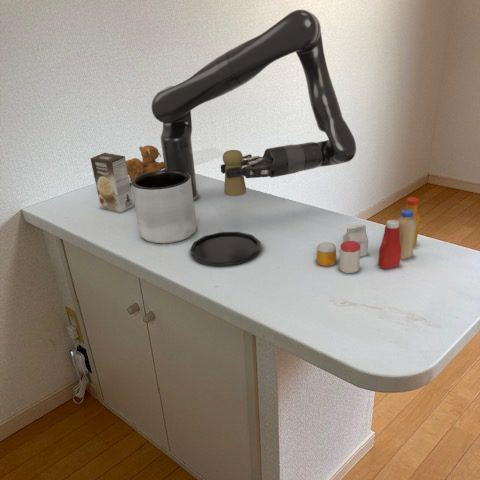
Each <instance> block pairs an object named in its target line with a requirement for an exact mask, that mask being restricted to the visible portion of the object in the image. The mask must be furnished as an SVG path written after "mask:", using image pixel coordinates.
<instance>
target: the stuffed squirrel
mask: <svg viewBox="0 0 480 480" xmlns="http://www.w3.org/2000/svg"><path fill="white" fill-rule="evenodd" d="M138 149H139V151H140V155H141V156H142V160H140V159H139V158H137V157H133V158H131V159H127V160H126V166H127V172H128V177H129V182H130V183H131V182H132V180H133V179H134V178H136V177H137V176H140V175H142V174H145V173H149V172H153V171H160V170H163V169H165V166H164V161H161V162H159V161H157V159H158V158H159V157H160V158H162V154H161V153H160V152H159V149H158V148H157V147H155V146H154V145H150V144H147V145H144V146H139V147H138Z"/></svg>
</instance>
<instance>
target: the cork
mask: <svg viewBox="0 0 480 480" xmlns="http://www.w3.org/2000/svg"><path fill="white" fill-rule="evenodd" d="M243 156H244V155H243V153H242V152H241V150H238V149H230V150H226V151H224V152H223V154H222V161H223V164H225V173H224V190H223V191H224V192H223V195H225V196H228V197H240V196H243V195H245V194H246V193H247V191H248V190H247V187H246V182H245V176H244V177H241V175H240V176H237V177H232V178H227V177H226V169H229V168H235V167H241V162H242V160H243Z"/></svg>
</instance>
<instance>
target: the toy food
mask: <svg viewBox="0 0 480 480" xmlns="http://www.w3.org/2000/svg"><path fill="white" fill-rule="evenodd" d="M419 203H420V199H419V198H418V197H415V196H410V197H407V198H406V207H405V209H402V210H400V216H399V217H397V219H388V220H387V221H386V223H385V226H384V231H383V235H382V240H381V244H380V246H379V249H378V263H377V264H378V266H379V267H380V268H381V269H383V270H387V269H393V268H397V267H399V266H400V263H401V260H406V259H410V258H411V257H412V256H413V254H414V247H415V246H416V245H417V244H418V243H417V242H418V234H419V228H420V221H421V216H420V214H419V213H418V208H419V207H418V206H419ZM366 229H367V226H366V224H358V225H352V226H347V227H346V232H345V233H344V234H343V237H342V243H341V244H340V245H339V247H340V250H339V251H340V252H339V270H340V271H341V272H343V273H346V274H354V273H357V272H358V271H359V270H360V264H361V263H360V261H361V257H365V256H367V255H368V251H369V250H368V249H369V237H368V234H367V230H366ZM336 262H337V246H336V245H335V244H334V243H333V242H330V241H324V242H320V243H318V244H317V246H316V263H317V264H318V265H319V266H322V267H328V266H329V267H330V266H333V265H335V264H336Z"/></svg>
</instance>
